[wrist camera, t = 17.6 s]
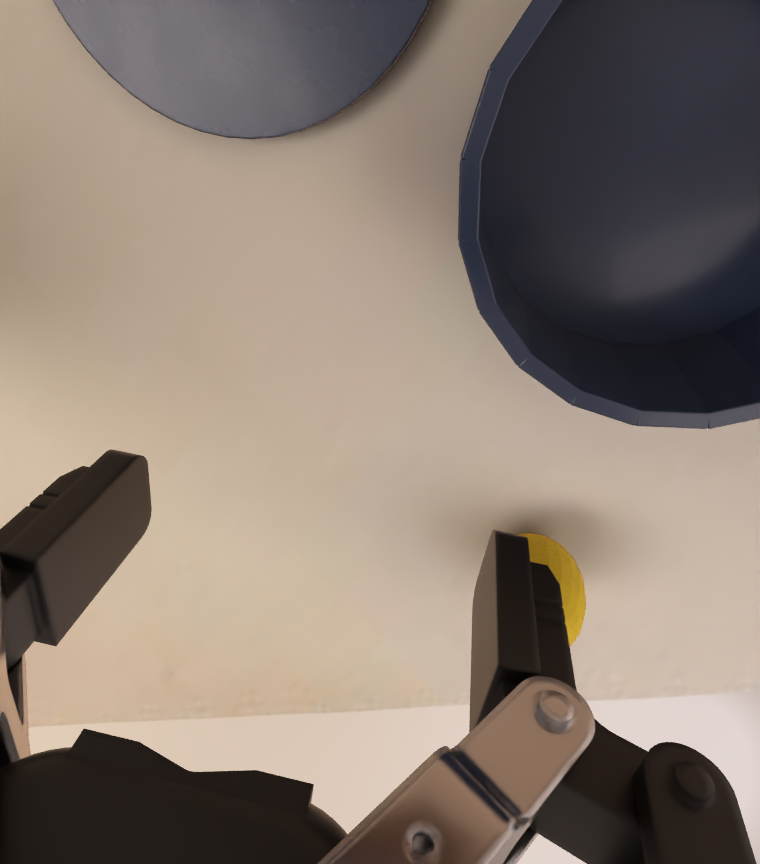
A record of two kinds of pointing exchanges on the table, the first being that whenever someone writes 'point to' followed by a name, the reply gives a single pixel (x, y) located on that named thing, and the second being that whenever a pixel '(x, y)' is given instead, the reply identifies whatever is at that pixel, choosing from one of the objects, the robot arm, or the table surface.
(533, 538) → the lemon
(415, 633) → the table surface
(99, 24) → the pot lid
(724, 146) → the pot
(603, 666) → the table surface
